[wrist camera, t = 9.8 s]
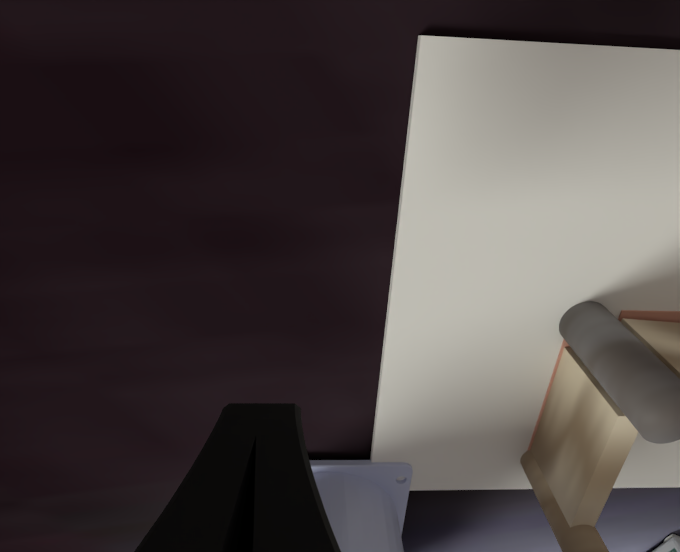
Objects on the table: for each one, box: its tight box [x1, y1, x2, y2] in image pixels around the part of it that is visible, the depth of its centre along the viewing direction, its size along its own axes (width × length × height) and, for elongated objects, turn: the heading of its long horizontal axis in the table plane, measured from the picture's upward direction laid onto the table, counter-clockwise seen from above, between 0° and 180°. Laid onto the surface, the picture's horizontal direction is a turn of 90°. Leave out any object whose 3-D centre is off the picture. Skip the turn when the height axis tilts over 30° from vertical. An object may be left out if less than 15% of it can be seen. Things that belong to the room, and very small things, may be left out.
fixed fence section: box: [520, 301, 680, 552], centre depth 19 cm, size 10×2×5 cm, turn 177°
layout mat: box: [370, 35, 680, 491], centre depth 20 cm, size 20×20×1 cm
